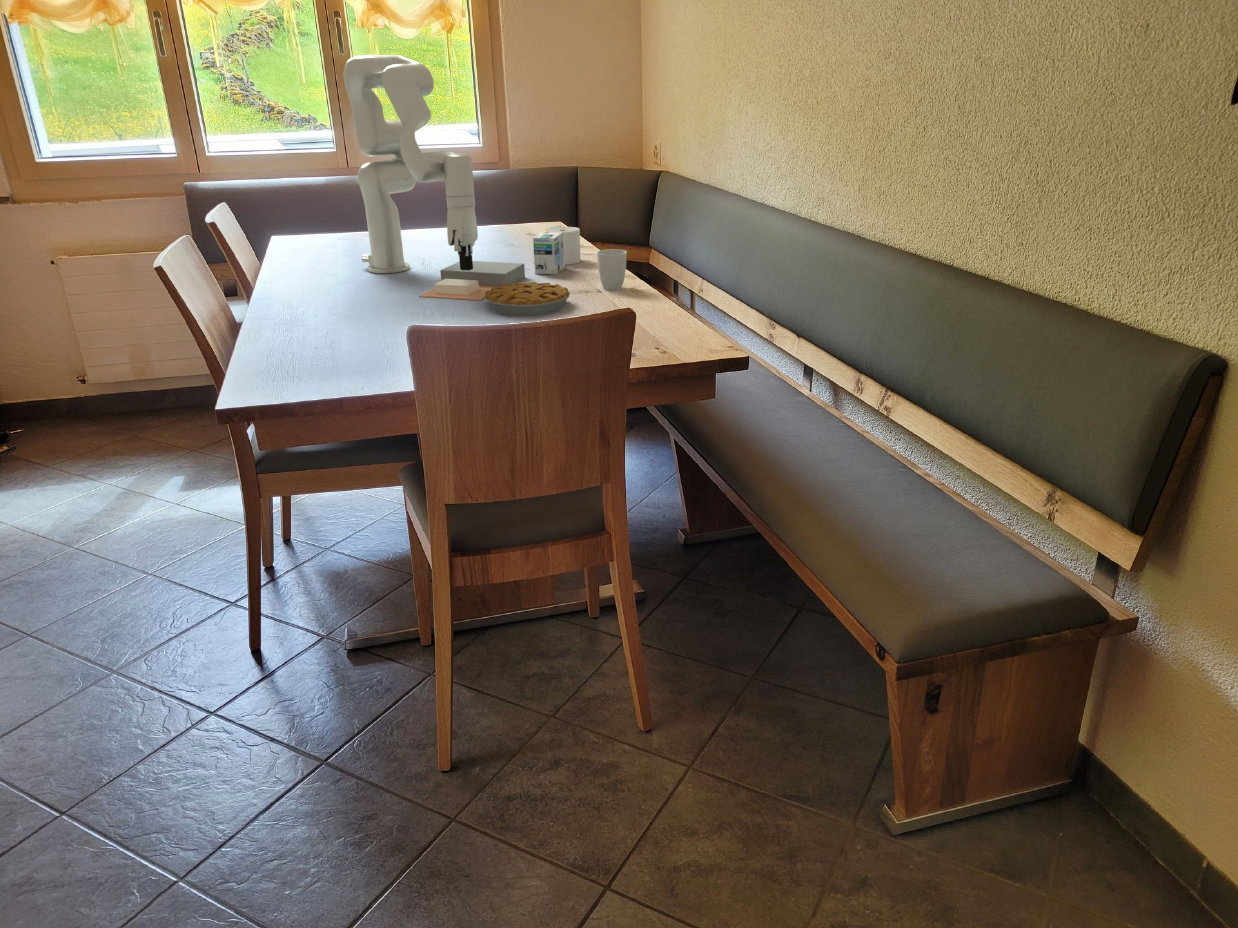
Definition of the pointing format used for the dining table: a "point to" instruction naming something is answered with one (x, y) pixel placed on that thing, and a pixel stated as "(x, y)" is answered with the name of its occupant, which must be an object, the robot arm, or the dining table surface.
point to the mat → (475, 295)
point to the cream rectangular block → (456, 286)
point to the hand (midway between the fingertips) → (466, 269)
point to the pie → (526, 298)
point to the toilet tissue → (569, 243)
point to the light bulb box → (548, 253)
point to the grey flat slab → (486, 273)
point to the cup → (612, 268)
